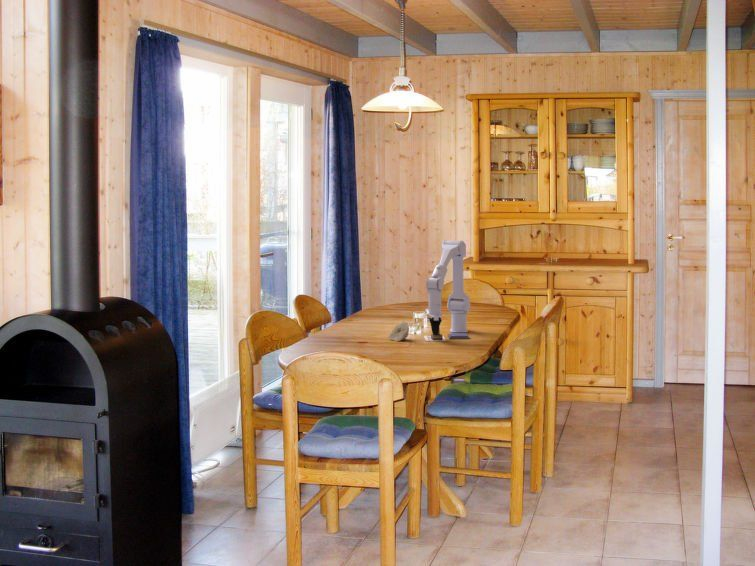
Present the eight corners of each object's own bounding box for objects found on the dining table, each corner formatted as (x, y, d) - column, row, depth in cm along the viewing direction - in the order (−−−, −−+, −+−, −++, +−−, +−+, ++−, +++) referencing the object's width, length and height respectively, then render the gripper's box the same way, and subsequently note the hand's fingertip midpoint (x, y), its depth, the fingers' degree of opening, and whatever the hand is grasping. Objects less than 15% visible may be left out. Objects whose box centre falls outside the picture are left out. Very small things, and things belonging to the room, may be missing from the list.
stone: (388, 344, 420) (384, 324, 424) (393, 349, 426) (389, 329, 430) (409, 337, 417) (405, 317, 422) (415, 342, 423) (410, 322, 428)
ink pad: (447, 335, 432) (447, 333, 432) (467, 335, 433) (467, 332, 432) (449, 339, 423) (449, 336, 423) (469, 338, 424) (469, 336, 423)
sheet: (423, 336, 433) (423, 335, 433) (443, 335, 433) (443, 335, 433) (425, 341, 419) (425, 340, 419) (445, 340, 419) (445, 340, 419)
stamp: (431, 338, 424) (430, 326, 424) (440, 338, 425) (440, 325, 424) (433, 340, 420) (432, 327, 419) (442, 339, 421) (442, 327, 420)
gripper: (425, 302, 428) (425, 331, 429) (427, 306, 413) (427, 336, 415) (440, 302, 428) (440, 331, 429) (443, 306, 414) (443, 336, 415)
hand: (435, 334), depth 422 cm, fingers closed on stamp, 2 cm apart
